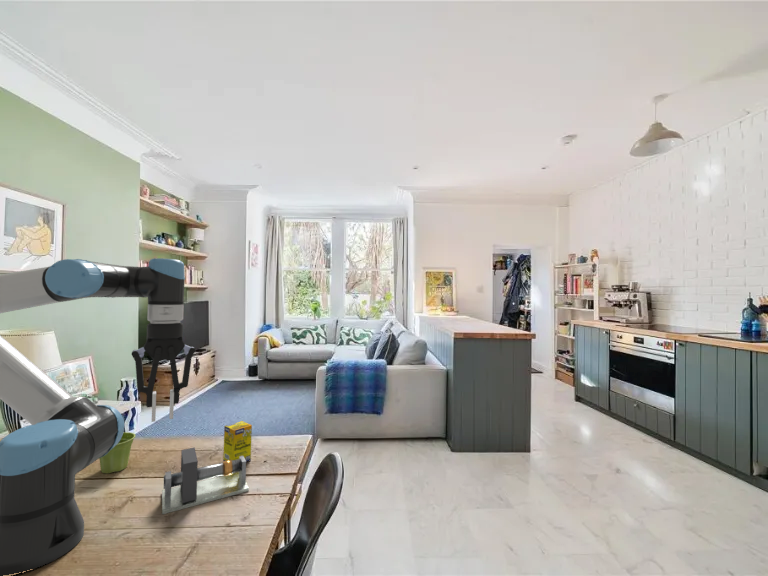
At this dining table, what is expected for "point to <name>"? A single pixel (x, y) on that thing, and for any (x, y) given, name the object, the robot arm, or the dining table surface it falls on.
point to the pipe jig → (206, 484)
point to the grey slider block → (189, 475)
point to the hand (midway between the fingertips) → (162, 418)
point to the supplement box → (237, 441)
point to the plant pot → (118, 455)
